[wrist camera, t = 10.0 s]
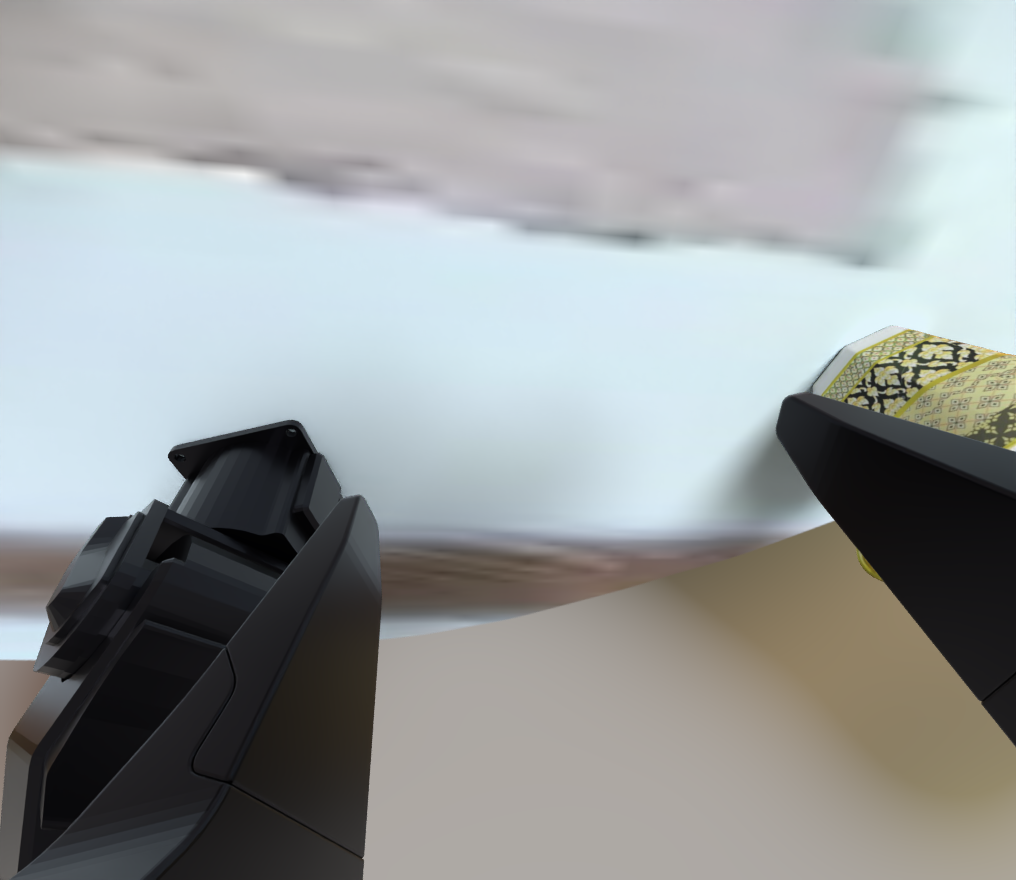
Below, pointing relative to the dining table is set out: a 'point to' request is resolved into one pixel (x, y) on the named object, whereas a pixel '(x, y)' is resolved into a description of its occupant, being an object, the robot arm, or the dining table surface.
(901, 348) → the ceramic cup
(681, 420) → the dining table surface
